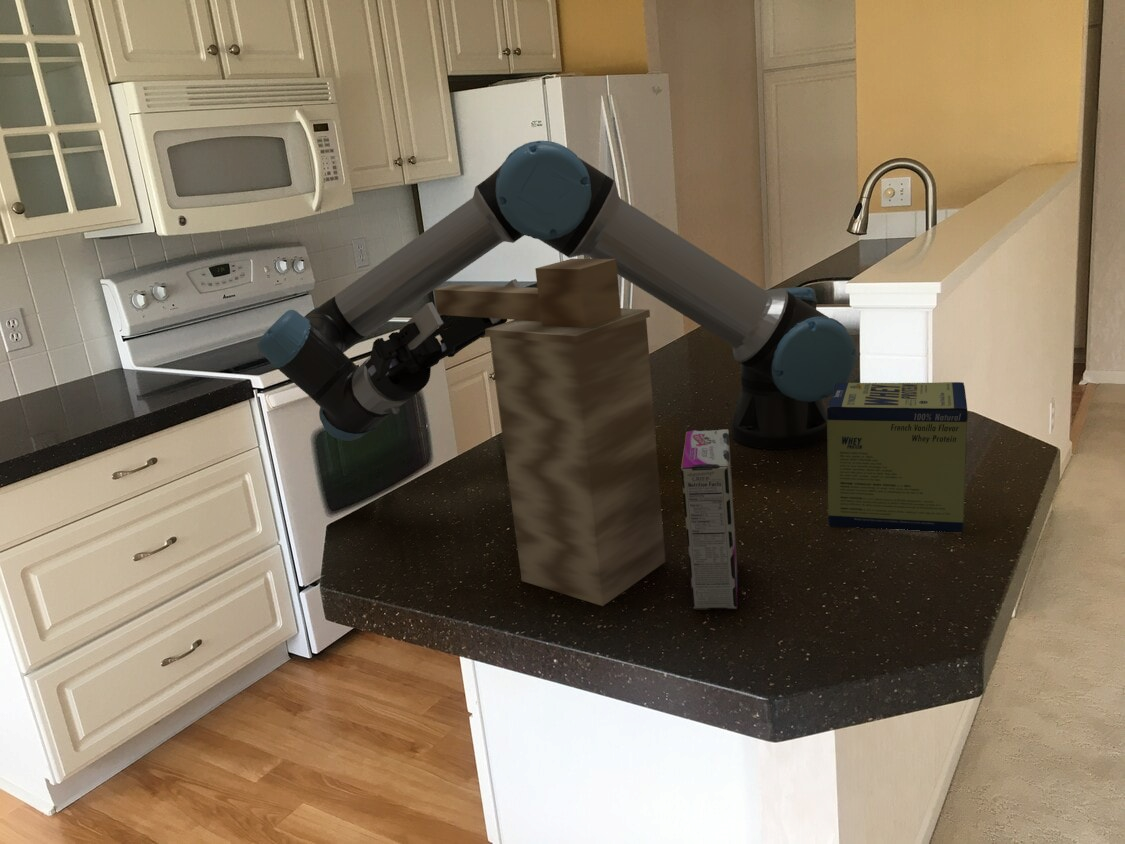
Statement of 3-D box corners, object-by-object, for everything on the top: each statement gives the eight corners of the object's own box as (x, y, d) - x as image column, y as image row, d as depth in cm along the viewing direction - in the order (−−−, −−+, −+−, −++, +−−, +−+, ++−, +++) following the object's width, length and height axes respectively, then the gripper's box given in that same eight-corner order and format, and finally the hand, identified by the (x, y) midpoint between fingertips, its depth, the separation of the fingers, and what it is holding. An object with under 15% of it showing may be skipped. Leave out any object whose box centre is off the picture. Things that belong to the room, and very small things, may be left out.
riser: (518, 581, 108) (484, 329, 99) (585, 539, 117) (560, 305, 108) (603, 608, 100) (575, 336, 91) (669, 561, 109) (649, 309, 100)
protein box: (965, 535, 108) (969, 407, 103) (826, 528, 113) (824, 406, 109) (962, 499, 117) (965, 380, 112) (834, 495, 123) (832, 381, 118)
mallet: (428, 317, 110) (420, 266, 108) (464, 306, 114) (457, 257, 112) (585, 328, 94) (579, 269, 93) (621, 315, 99) (616, 258, 97)
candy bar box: (694, 563, 108) (684, 429, 103) (737, 562, 107) (730, 427, 102) (689, 611, 98) (679, 465, 93) (738, 611, 97) (730, 463, 92)
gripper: (473, 376, 131) (564, 306, 116) (327, 429, 113) (411, 355, 98) (448, 329, 131) (535, 254, 116) (299, 375, 114) (379, 293, 99)
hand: (479, 300), depth 107 cm, fingers open, 13 cm apart
